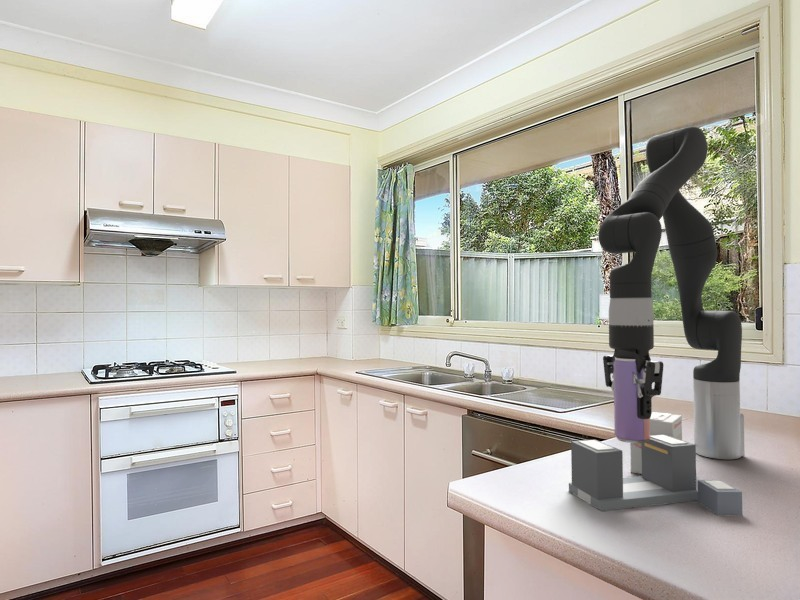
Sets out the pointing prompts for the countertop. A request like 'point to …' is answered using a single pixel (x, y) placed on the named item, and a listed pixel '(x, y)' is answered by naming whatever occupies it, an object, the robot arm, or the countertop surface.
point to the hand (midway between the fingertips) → (632, 414)
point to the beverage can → (628, 403)
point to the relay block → (720, 497)
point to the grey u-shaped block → (659, 484)
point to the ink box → (658, 426)
